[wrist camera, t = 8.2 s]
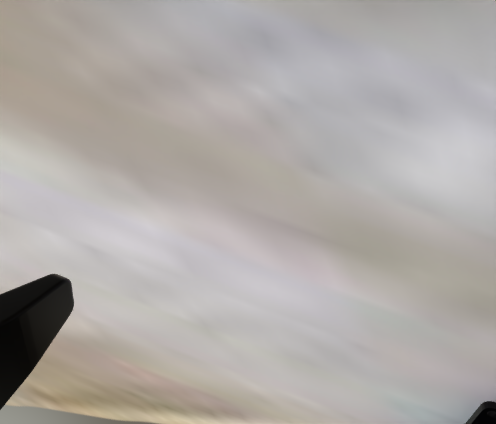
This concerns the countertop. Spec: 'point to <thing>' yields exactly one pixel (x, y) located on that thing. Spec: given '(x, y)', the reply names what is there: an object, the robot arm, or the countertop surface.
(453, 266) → the countertop surface
